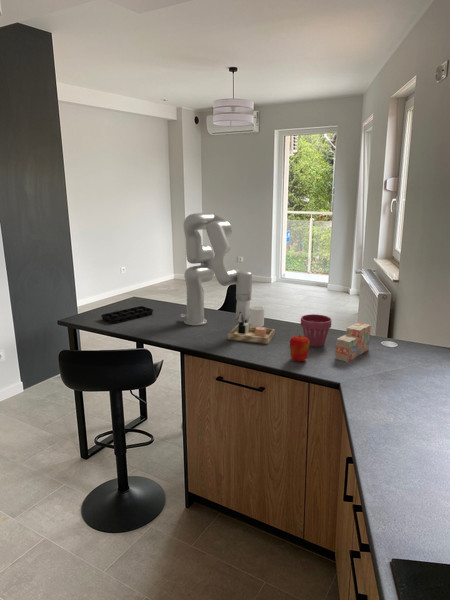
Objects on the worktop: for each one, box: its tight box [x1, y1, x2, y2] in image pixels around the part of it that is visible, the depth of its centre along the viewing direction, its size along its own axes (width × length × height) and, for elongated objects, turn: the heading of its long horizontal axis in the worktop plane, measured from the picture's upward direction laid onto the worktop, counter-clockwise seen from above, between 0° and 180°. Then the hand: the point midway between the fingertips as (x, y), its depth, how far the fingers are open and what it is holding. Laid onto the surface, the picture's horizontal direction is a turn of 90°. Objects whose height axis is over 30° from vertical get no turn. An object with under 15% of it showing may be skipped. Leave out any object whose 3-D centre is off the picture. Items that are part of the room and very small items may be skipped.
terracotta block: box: [255, 326, 267, 337], centre depth 211 cm, size 4×4×4 cm
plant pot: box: [300, 313, 332, 348], centre depth 203 cm, size 14×14×13 cm
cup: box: [248, 305, 265, 327], centre depth 231 cm, size 8×12×10 cm
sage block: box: [244, 323, 250, 334], centre depth 213 cm, size 4×4×4 cm
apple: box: [289, 333, 310, 362], centre depth 182 cm, size 9×8×12 cm
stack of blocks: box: [334, 322, 372, 363], centre depth 190 cm, size 21×6×12 cm, turn 138°
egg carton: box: [100, 305, 154, 325], centre depth 245 cm, size 18×30×4 cm, turn 149°
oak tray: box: [227, 324, 276, 345], centre depth 213 cm, size 20×15×3 cm
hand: (243, 331), depth 214 cm, fingers closed on sage block, 4 cm apart
